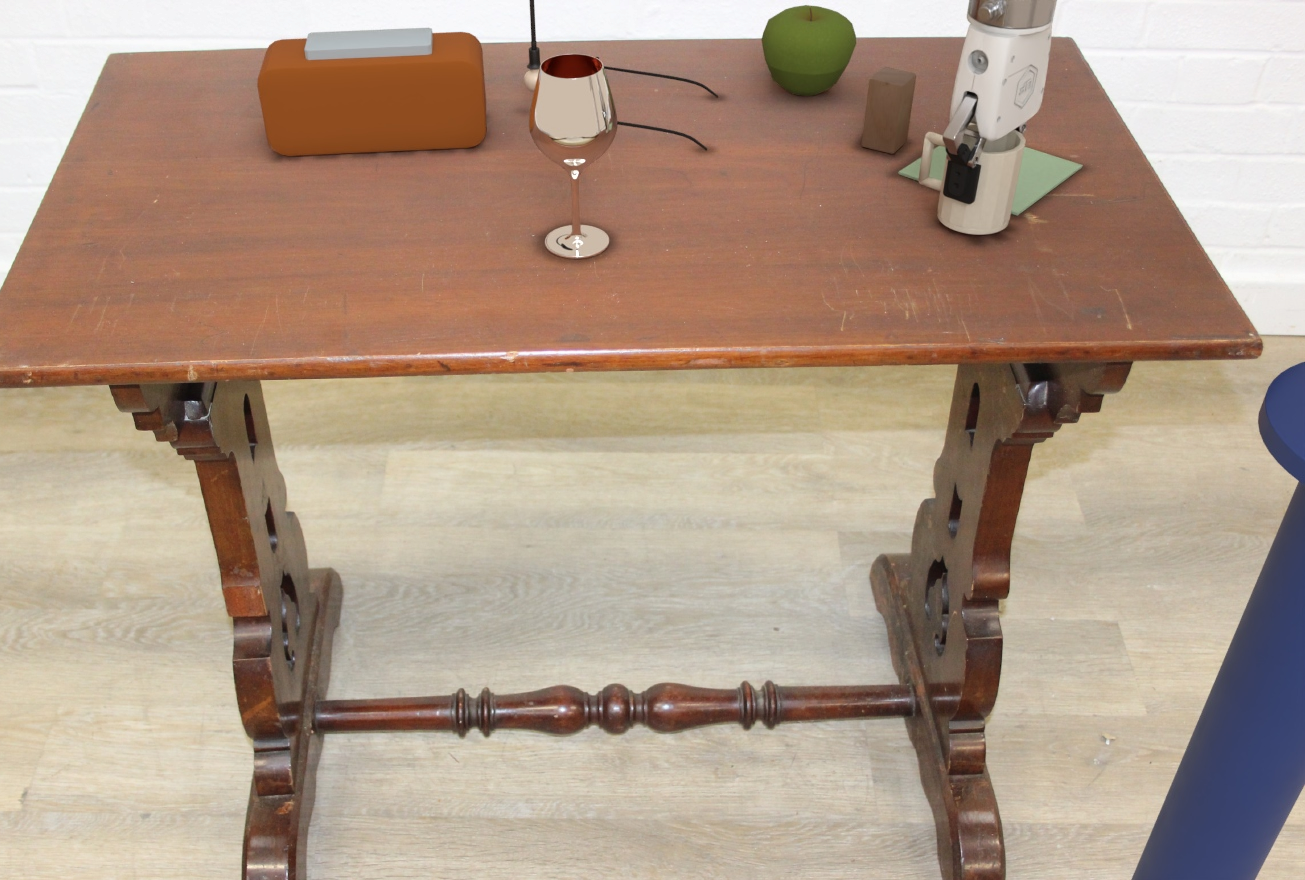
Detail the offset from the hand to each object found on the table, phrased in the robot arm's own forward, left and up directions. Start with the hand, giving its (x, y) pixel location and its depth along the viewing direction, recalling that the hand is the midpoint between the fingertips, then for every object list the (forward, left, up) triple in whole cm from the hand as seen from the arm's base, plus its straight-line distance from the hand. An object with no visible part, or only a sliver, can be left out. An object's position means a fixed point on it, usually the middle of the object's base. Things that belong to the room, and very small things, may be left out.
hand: (979, 183), depth 130 cm
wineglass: (+27, +29, -5) cm, 40 cm away
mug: (+2, 0, -4) cm, 4 cm away
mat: (+4, -11, -4) cm, 13 cm away
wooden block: (+16, -9, -5) cm, 19 cm away
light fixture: (+52, +9, -5) cm, 53 cm away
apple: (+31, -15, -5) cm, 35 cm away
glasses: (+40, +3, -5) cm, 41 cm away
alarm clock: (+60, +26, -5) cm, 66 cm away
